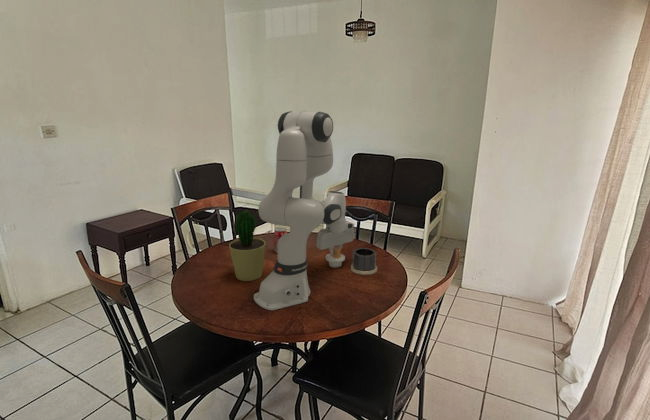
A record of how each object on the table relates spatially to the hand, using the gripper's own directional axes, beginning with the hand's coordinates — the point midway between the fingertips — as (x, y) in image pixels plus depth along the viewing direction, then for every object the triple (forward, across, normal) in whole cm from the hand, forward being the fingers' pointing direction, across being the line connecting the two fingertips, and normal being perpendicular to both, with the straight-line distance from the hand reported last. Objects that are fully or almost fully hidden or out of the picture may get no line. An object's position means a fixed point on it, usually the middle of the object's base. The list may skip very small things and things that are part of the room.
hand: (335, 253), depth 171 cm
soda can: (+6, -11, +30) cm, 32 cm away
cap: (+6, 0, 0) cm, 6 cm away
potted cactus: (+6, -37, +15) cm, 40 cm away
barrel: (+6, +7, -12) cm, 15 cm away
